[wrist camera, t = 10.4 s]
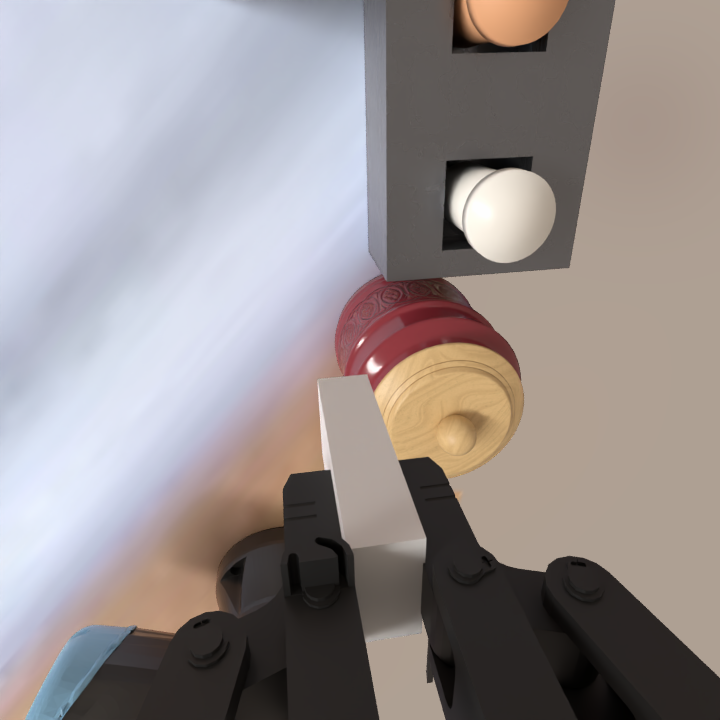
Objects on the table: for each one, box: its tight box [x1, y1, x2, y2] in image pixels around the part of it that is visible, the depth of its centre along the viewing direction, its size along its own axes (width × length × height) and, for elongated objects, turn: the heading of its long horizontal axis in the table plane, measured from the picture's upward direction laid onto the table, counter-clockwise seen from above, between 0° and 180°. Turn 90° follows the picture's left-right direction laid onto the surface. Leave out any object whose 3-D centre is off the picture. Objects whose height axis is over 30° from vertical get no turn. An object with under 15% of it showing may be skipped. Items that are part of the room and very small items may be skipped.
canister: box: [335, 275, 524, 479], centre depth 40 cm, size 13×13×18 cm
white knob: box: [444, 161, 556, 263], centre depth 35 cm, size 6×6×9 cm
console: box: [364, 0, 615, 282], centre depth 36 cm, size 22×14×8 cm, turn 2°
